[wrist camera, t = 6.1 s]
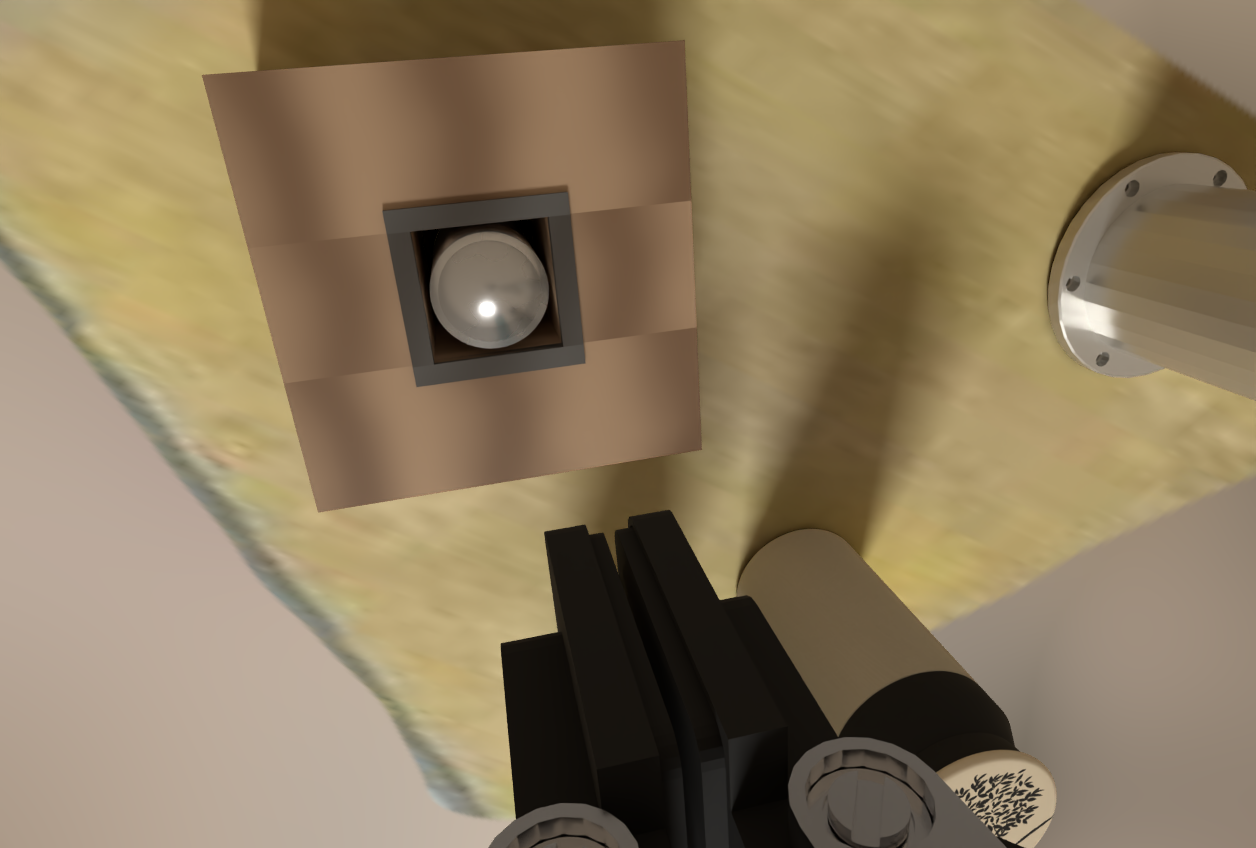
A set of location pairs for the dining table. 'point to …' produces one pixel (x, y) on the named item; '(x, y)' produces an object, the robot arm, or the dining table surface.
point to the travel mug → (894, 678)
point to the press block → (460, 196)
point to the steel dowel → (487, 284)
